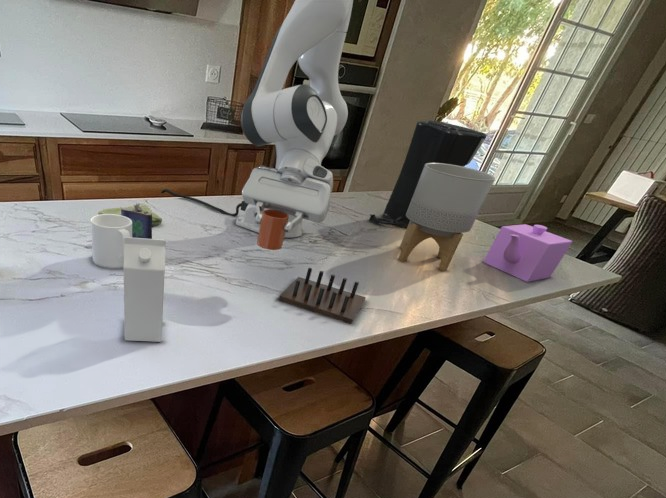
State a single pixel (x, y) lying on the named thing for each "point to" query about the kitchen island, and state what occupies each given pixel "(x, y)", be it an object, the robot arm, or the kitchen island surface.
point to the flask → (139, 221)
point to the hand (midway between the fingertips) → (272, 227)
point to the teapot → (527, 251)
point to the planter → (444, 208)
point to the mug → (109, 239)
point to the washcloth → (155, 218)
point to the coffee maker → (428, 147)
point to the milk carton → (143, 288)
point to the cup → (272, 229)
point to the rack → (324, 297)
